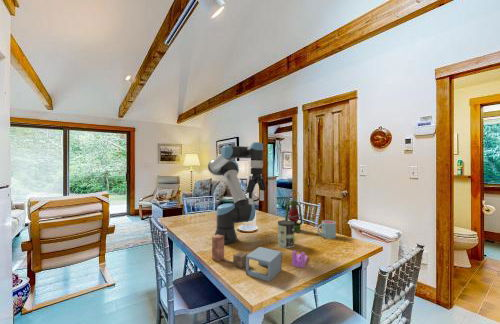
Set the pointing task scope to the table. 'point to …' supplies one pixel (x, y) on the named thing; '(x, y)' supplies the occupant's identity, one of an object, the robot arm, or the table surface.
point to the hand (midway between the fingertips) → (256, 202)
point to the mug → (328, 229)
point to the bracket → (298, 259)
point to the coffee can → (286, 233)
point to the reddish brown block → (218, 252)
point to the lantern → (294, 213)
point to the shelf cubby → (265, 262)
